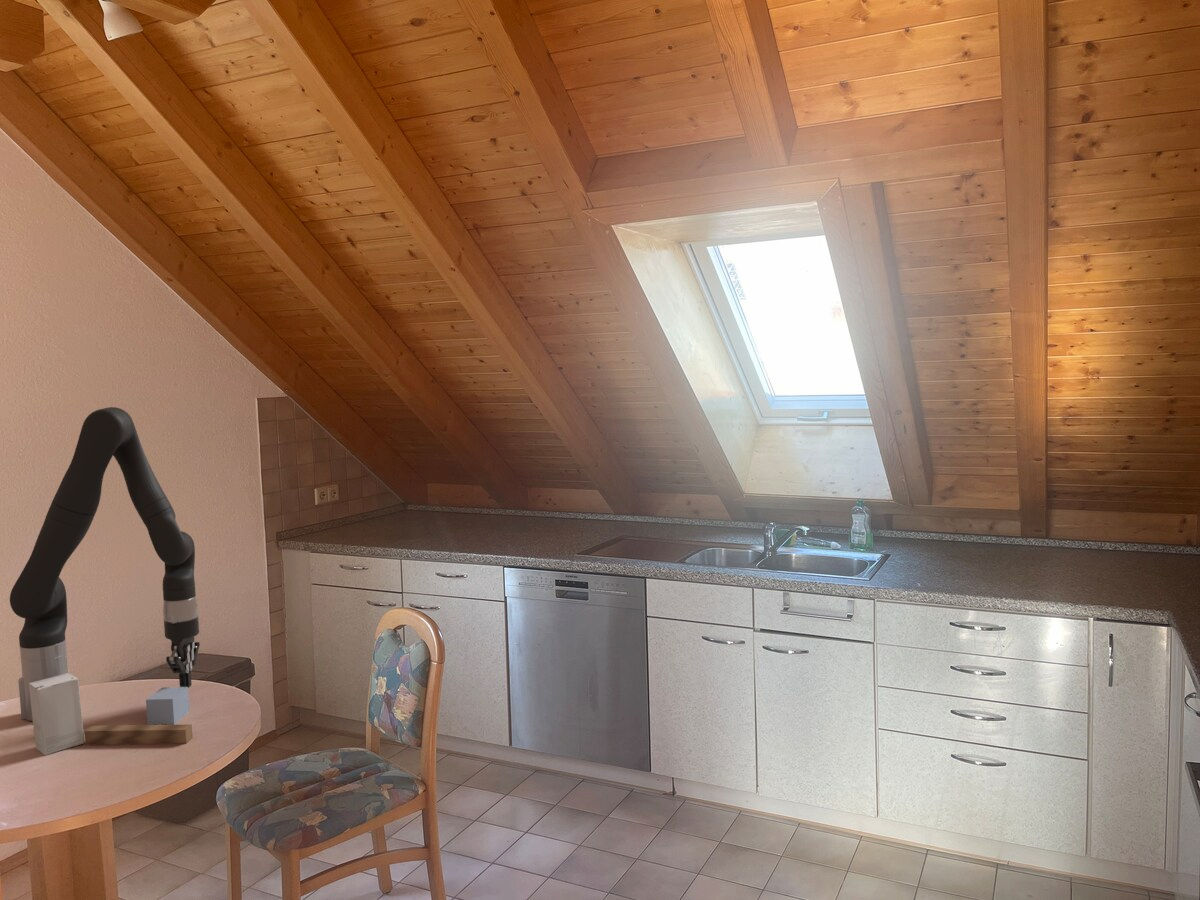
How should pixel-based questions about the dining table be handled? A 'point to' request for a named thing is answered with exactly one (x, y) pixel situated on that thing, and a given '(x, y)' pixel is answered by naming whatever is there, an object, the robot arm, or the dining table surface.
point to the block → (167, 705)
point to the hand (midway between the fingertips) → (185, 687)
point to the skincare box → (56, 713)
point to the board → (138, 734)
